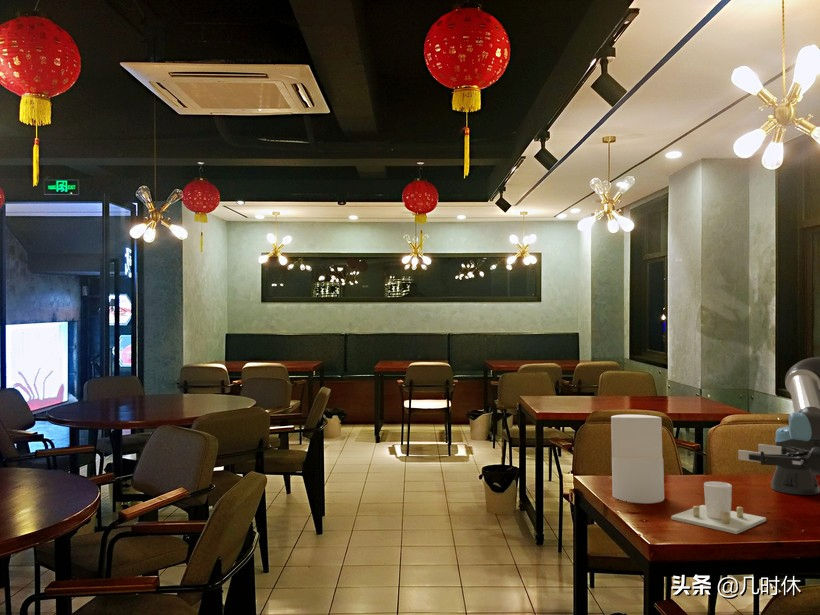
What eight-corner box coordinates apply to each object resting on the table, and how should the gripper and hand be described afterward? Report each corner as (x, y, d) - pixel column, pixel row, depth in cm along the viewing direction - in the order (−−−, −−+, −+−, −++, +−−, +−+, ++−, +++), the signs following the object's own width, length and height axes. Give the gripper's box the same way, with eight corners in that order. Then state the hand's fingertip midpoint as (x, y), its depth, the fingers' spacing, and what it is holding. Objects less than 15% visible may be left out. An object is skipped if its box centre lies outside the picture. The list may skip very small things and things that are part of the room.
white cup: (710, 511, 209) (709, 480, 210) (736, 516, 204) (735, 484, 204) (700, 516, 204) (699, 484, 204) (727, 522, 198) (726, 488, 198)
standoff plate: (766, 520, 202) (765, 507, 202) (736, 534, 189) (736, 520, 190) (702, 507, 218) (702, 495, 218) (671, 519, 205) (670, 506, 205)
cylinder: (608, 490, 242) (606, 414, 243) (656, 491, 240) (654, 414, 241) (618, 502, 225) (616, 420, 226) (670, 503, 223) (668, 420, 224)
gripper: (812, 483, 172) (730, 470, 189) (845, 469, 188) (767, 458, 205) (811, 454, 172) (729, 444, 189) (844, 442, 188) (766, 434, 205)
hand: (748, 451), depth 197 cm, fingers open, 13 cm apart
